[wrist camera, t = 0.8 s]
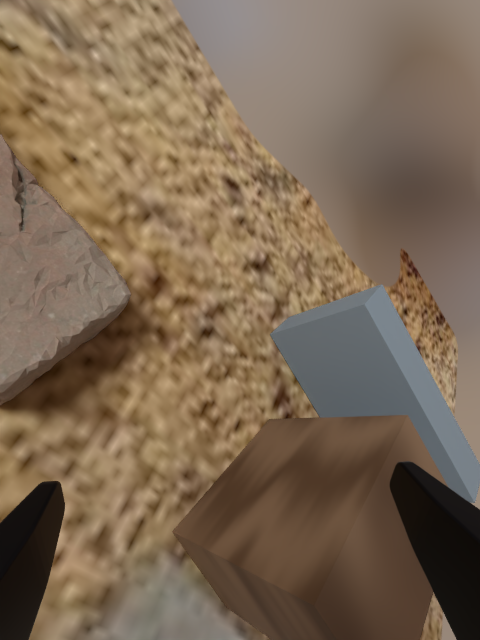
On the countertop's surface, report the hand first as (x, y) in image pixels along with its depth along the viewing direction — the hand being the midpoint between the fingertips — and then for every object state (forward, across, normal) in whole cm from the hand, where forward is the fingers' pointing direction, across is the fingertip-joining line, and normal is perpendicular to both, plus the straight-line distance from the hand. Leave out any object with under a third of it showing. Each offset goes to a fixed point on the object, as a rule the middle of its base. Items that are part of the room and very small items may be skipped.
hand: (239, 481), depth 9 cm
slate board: (+17, -11, +11) cm, 23 cm away
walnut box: (+9, -3, +14) cm, 17 cm away
